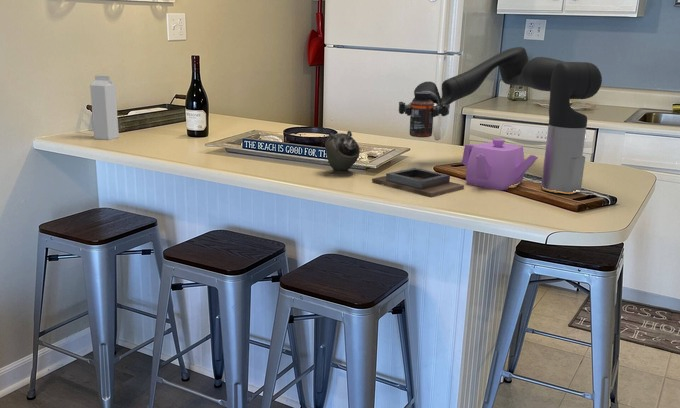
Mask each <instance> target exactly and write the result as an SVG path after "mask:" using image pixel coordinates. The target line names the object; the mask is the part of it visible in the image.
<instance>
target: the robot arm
mask: <svg viewBox="0 0 680 408" xmlns="http://www.w3.org/2000/svg"><path fill="white" fill-rule="evenodd" d="M497 67H498V69H499V74H500V77H501V80H502V82H503V83H504V84H506V85H509V86H522V87H527V88H530V89H534V90H538V91H541V92H549V103H548V126H547V127H548V128H547V136H546V142H545V152H544V158H543V168H542V176H541V182H540V184H541V185H540V187H541V186H542V187H544V188H546V189H549V190H556V191H563V192H573V191H576V190H581V191H582V185H583V184H582V183H583V177H584V169H585V162H586V156H585V155H583V154H584V146H585V139H586V133H587V132H586V131H587V125H588V116H587V115H585V114H584V113H581V112H578V111H576V110H574V109H573V107H572V106H571V100H587V99H590V98H593V96H595V95H596V94H597V93H598V92H599V90H600V89H601V87H602V81H603V78H602V76H603V75H602V73H601V70H600V69H599V68H598V66H597V65H595V64H594V63H592V62H586V61H563V60H560V59H556V58H552V57H545V56H536V57H533V58H531V59H530V60H529V57H528V53H527V49H525V47H522V46H516V47H511V48H507V49H505V50H503V51H501V52H500V53H497V54H495V55H493V56H492V57H490V58H488V59H486V60H484V61H483V62H481V63H480V64H478V65H476V66H474V67H473V68H470V69H468V70H466V71H464V72H463V73H460V74H458V75H455V76H453V77H450V78H447V79H445V80H444V81H443V82H442V84H441V95H440V91H439V89H438V86H437V84H436V83H435V82H433V81H423V82H421V83H419V84H418V85H417V86H416V87H415V89H414V90H413V94H414V95H413V96H414V98H412V101H413V100H414V99H415V92H430V93H431V98H430V99H431V101H432V102H433V103H434V108H433V118H436V117H439V116H442V117H447V116H448V115H449V114H450V107H451V106H450V105H451V104H452V103H454V102H456V101H458V100H460V99H463V98H465V97H468V96H470V95H472V94H473V93H475V92H476V91H477V90H478V89H479V88H480V86H482V84H483V83H484V82H485V80H486V78H487V77H488V76H489V75H490V74H491V72H493V71H494V70H495V68H497ZM412 101H411V102H412ZM411 102H409V103H408V104H406V102H403V101H399V102H398V113H399V114H400V115H404V114H405V115H406V116H409V117H410V114H411Z"/></svg>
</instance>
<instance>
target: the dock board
mask: <svg viewBox="0 0 680 408" xmlns="http://www.w3.org/2000/svg"><path fill="white" fill-rule="evenodd" d="M410 178H415V179H419V180H423V179H424V178H420V177H410ZM371 182H372V183H374V184H378V185H382V186H386V187H390V188H393V189H394V188H395V189H398V190H401V191H404V192H410V193H412V194H413V193H414V194H416V195H417V194H418V195H421V196H424V197H425V196H426V197H429V198H433V197H438V196H441V195H444V194H449V193H453V192H456V191H461V190H464V189H465V184H461V183H457V182H453V181H450V183H447V184H442V185H438V186H434V187H430V188H426V189H417V188H413V187H409V186H405V185H401V184H397V183H393V182H389V181H386V175H384V176H377V177H374V178H373V177H372V179H371Z"/></svg>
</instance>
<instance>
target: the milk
mask: <svg viewBox="0 0 680 408" xmlns="http://www.w3.org/2000/svg"><path fill="white" fill-rule="evenodd" d="M110 79H111V78H110V76H109V75H98V74H96V75H94V80H93V82H91V84H90V86H89V88H90V90H89V91H90V100H91V101H90V102H91V111H92V125H93V138H94V140H104V141H105V140H107V141H111V140H115V139H119V138H120V134H119V121H118V107H117V106H118V105H117V104H118V103H117V91H116V90H117V89H116V84H115V83H113V81H111V80H110Z"/></svg>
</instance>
